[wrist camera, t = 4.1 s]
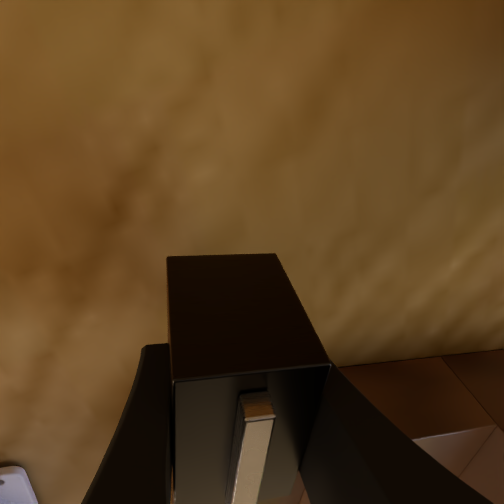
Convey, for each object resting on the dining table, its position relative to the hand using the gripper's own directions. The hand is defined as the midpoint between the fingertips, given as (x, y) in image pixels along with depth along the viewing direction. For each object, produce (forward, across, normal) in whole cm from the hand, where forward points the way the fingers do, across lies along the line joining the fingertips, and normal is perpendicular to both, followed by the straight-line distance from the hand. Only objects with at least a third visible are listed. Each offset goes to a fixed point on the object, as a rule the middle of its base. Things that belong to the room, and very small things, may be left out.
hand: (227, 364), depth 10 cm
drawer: (+2, 0, 0) cm, 2 cm away
